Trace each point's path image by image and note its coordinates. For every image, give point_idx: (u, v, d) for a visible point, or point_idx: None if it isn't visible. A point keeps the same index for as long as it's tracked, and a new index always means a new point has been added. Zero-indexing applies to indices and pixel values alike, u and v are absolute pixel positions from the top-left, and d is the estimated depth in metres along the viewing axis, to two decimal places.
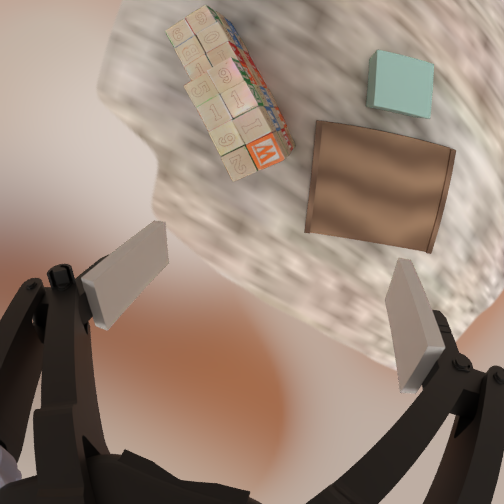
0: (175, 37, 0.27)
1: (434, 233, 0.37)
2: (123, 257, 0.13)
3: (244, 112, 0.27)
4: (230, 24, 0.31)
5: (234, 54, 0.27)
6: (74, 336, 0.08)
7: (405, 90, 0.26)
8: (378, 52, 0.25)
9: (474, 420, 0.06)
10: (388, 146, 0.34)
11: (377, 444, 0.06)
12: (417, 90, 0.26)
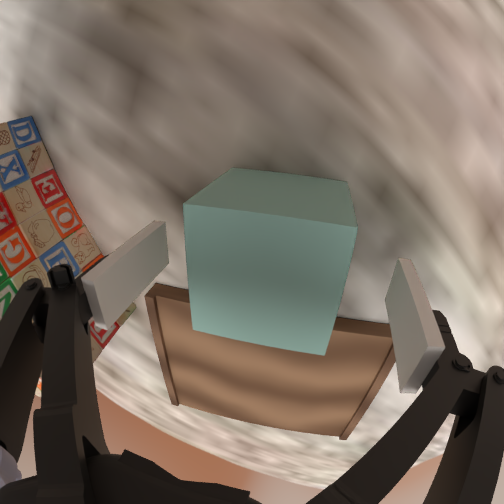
0: None
1: (350, 426, 0.25)
2: (123, 257, 0.13)
3: None
4: (23, 126, 0.18)
5: None
6: (74, 336, 0.08)
7: (263, 304, 0.13)
8: (186, 212, 0.12)
9: (474, 420, 0.06)
10: None
11: (377, 444, 0.06)
12: (296, 302, 0.13)
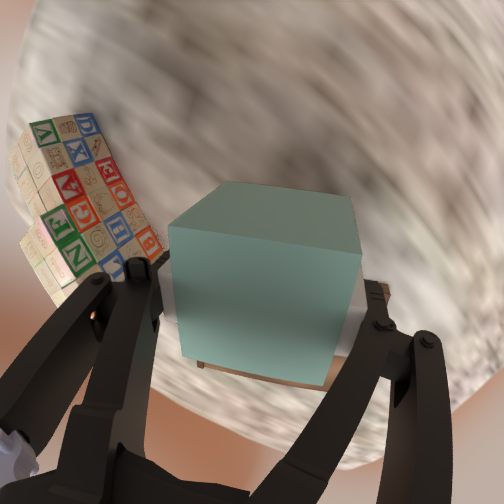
0: (15, 167, 0.22)
1: None
2: None
3: (67, 283, 0.22)
4: (85, 120, 0.26)
5: (58, 194, 0.22)
6: (138, 336, 0.09)
7: (256, 333, 0.12)
8: (171, 234, 0.11)
9: (410, 388, 0.08)
10: None
11: (315, 414, 0.07)
12: (292, 333, 0.12)
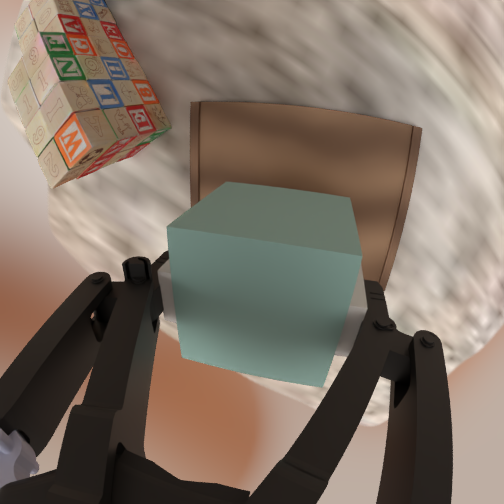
0: (20, 28, 0.15)
1: (389, 261, 0.26)
2: None
3: (48, 94, 0.15)
4: None
5: (61, 26, 0.15)
6: (137, 336, 0.09)
7: (256, 335, 0.12)
8: (170, 235, 0.11)
9: (410, 388, 0.08)
10: (303, 127, 0.23)
11: (315, 414, 0.07)
12: (292, 335, 0.12)
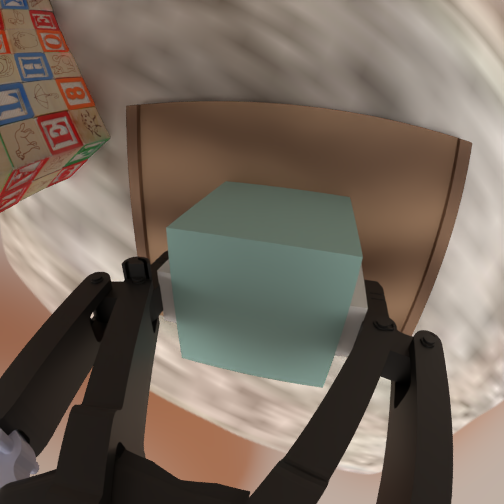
0: None
1: (408, 329, 0.18)
2: None
3: None
4: None
5: None
6: (137, 336, 0.09)
7: (256, 335, 0.12)
8: (169, 236, 0.11)
9: (410, 388, 0.08)
10: (290, 138, 0.15)
11: (315, 414, 0.07)
12: (293, 335, 0.12)
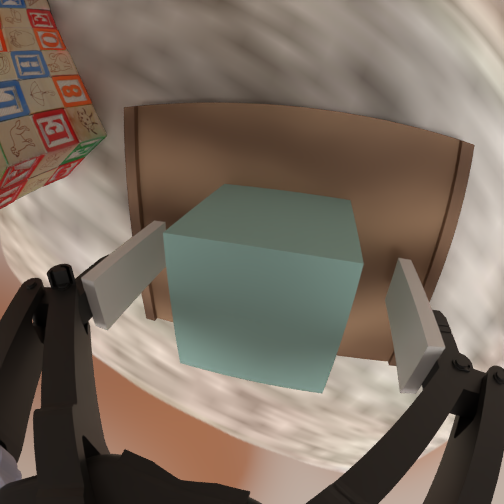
0: None
1: None
2: (123, 257, 0.13)
3: None
4: None
5: None
6: (74, 336, 0.08)
7: (255, 342, 0.12)
8: (166, 242, 0.11)
9: (474, 420, 0.06)
10: (289, 140, 0.15)
11: (377, 444, 0.06)
12: (291, 341, 0.11)
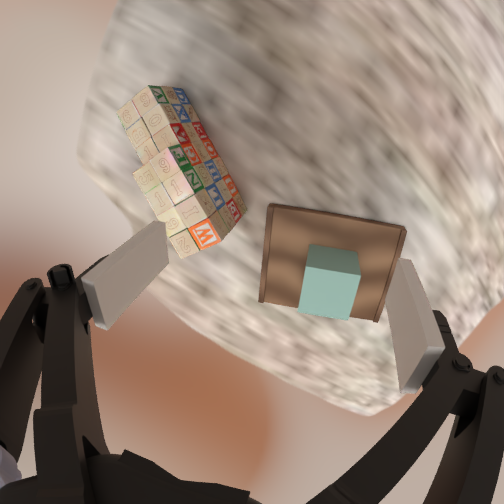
0: (125, 119, 0.33)
1: (381, 305, 0.43)
2: (123, 257, 0.13)
3: (183, 199, 0.32)
4: (180, 93, 0.37)
5: (175, 137, 0.33)
6: (74, 336, 0.08)
7: (328, 300, 0.37)
8: (306, 269, 0.36)
9: (474, 420, 0.06)
10: (336, 230, 0.40)
11: (377, 444, 0.06)
12: (339, 299, 0.37)
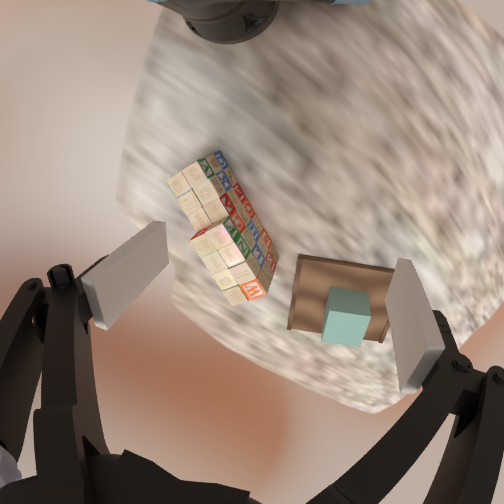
0: (176, 188, 0.42)
1: (385, 331, 0.53)
2: (123, 257, 0.13)
3: (235, 264, 0.42)
4: (219, 157, 0.46)
5: (225, 209, 0.42)
6: (74, 336, 0.08)
7: (345, 333, 0.47)
8: (329, 312, 0.46)
9: (474, 420, 0.06)
10: (352, 276, 0.50)
11: (377, 444, 0.06)
12: (354, 332, 0.46)
